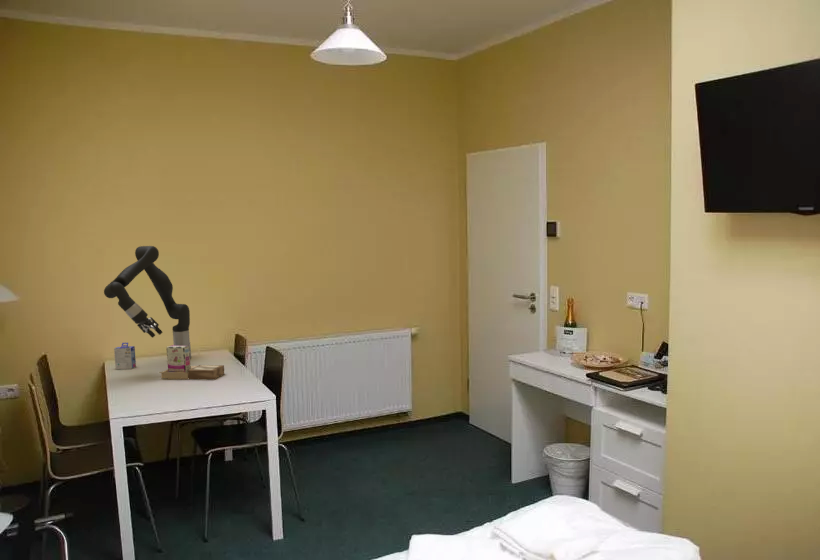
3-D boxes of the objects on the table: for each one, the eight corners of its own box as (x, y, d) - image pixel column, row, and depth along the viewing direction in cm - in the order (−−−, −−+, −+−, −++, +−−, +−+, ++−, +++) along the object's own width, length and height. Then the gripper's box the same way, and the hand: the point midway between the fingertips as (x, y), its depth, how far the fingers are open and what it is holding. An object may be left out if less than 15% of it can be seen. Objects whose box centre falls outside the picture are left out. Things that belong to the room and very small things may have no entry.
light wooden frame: (173, 372, 354) (172, 365, 353) (200, 373, 351) (199, 366, 351) (159, 379, 340) (158, 372, 340) (186, 379, 337) (186, 372, 337)
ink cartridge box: (136, 366, 371) (134, 341, 370) (132, 369, 366) (130, 343, 364) (119, 367, 372) (117, 342, 370) (115, 369, 366) (113, 344, 365)
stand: (200, 373, 350) (199, 364, 349) (224, 374, 347) (223, 365, 347) (188, 379, 338) (188, 370, 338) (213, 379, 336) (213, 370, 335)
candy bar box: (191, 375, 346) (189, 345, 345) (185, 378, 342) (183, 347, 340) (173, 374, 350) (171, 344, 348) (167, 377, 345) (165, 346, 343)
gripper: (146, 305, 342) (168, 327, 347) (135, 311, 351) (156, 332, 357) (137, 315, 337) (158, 337, 342) (125, 320, 346) (146, 342, 352)
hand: (157, 335), depth 349 cm, fingers open, 8 cm apart
